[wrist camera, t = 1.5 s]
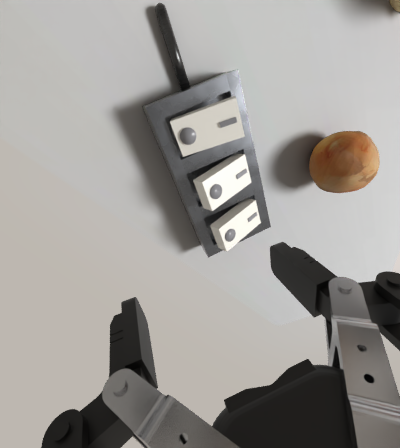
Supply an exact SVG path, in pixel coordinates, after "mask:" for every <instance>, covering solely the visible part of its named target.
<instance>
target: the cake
mask: <svg viewBox="0 0 400 448" xmlns="http://www.w3.org/2000/svg"><path fill="white" fill-rule="evenodd" d="M389 2H390V4H391V6H392V7H393V8H394V10H395V11H397V12H400V0H389Z"/></svg>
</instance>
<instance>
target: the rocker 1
mask: <svg viewBox="0 0 400 448" xmlns="http://www.w3.org/2000/svg"><path fill="white" fill-rule="evenodd" d="M170 124H171V126H172V129H173V132H174V134H175V137H176V140H177V142H178V145H179V148H180V150H181V153H182V155H183V157H184V156H187V155H190V154H193V153H196V152H199V151H202V150H205V149H209V148H212V147H215V146H218V145H221V144H224V143H227V142H230V141H233V140H236V139H239V138H242V137H245V135H244V130H243V126H242V121H241V117H240V112H239V108H238V103H237V99H236V97H235V96H232V97H229V98H227V99H224V100H221V101H218V102H216V103H213V104H210V105H207V106H205V107H202V108H199V109H197V110H194V111H191V112H188V113H186V114H183V115H180V116H177V117H175V118H172V119H171V121H170Z"/></svg>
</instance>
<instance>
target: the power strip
mask: <svg viewBox="0 0 400 448" xmlns="http://www.w3.org/2000/svg"><path fill="white" fill-rule="evenodd" d="M155 12H156V15H157V18H158V21H159V24H160V27H161V30H162V33H163V36H164V39H165V42H166V45H167V48H168V51H169V54H170V57H171V60H172V63H173V66H174V69H175V72H176V75H177V79H178V82H179V85H180V88H181V91H179V92H176V93H174V94H171V95H169V96H167V97H164V98H162V99H159V100H157V101H154V102H152V103H149V104H147V105H145V106H142V107H143V110H144V112H145V114H146V117H147V119H148V121H149V124H150V126H151V128H152V131H153V133H154V136H155V138H156V140H157V143H158V145H159V147H160V150H161V152H162V154H163V157H164V159H165V161H166V164H167V166H168V169H169V171H170V173H171V176H172V178H173V180H174V183H175V185H176V187H177V190H178V192H179V194H180V197H181V199H182V202H183V204H184V206H185V209H186V211H187V213H188V216H189V218H190V220H191V223H192V225H193V227H194V230H195V232H196V235H197V237H198V239H199V242H200V244H201V246H202V248H203V249H204V251H205V253H206V254H207V256H208V257H210V256H212V255H214V254H216V253H218V252H220V251H222V249H220V248H218V245H217V243H216V240H215V237H214V235H213V232H212V229H211V227H210V225H211V224H212V223H214V222H215V221H216V220H218V219H219V218H220V217H222V216H223V215H224V214H225V213H227V212H228V211H229V210H231V209H232V208H233V207H235V206H236V205H237V204H239V203H240V202H241V201H242V200H244V199H247V198H249V199H253V200H256V204H257V208H258V212H259V217H260V221H261V223H260V224H259V225H258V226H256V227H255V228H254V229H253V230H252V231H251V232H249V233H248V234H247V235H246V236H245V237H244V238H242V239H241V240H240V241H239V242H241V241H243V240H245V239H247V238H249V237H251V236H253V235H255V234H257V233H259V232H261V231H263V230H265V229H267V228H269V227H271V226H270V221H269V216H268V211H267V207H266V202H265V197H264V192H263V187H262V183H261V178H260V173H259V168H258V163H257V158H256V154H255V149H254V144H253V139H252V134H251V129H250V125H249V120H248V115H247V110H246V105H245V100H244V96H243V91H242V86H241V81H240V76H239V71H238V69H237V70H233V71H229V72H225V73H223V74H220V75H218V76H215V77H213V78H210V79H208V80H206V81H203V82H201V83H198V84H196V85H193V86H191V87H190V85H189V81H188V78H187V75H186V72H185V69H184V65H183V62H182V59H181V56H180V52H179V49H178V46H177V43H176V40H175V36H174V33H173V30H172V27H171V24H170V20H169V17H168V14H167V11H166V8H165V6H164V5H163V4H162V3H158V4H157V5H156V7H155ZM232 96H235V97H236V99H237V103H238V108H239V112H240V117H241V121H242V126H243V130H244V135H245V137H242V138H239V139H236V140H233V141H230V142H227V143H224V144H221V145H218V146H215V147H212V148H209V149H205V150H202V151H199V152H196V153H193V154H190V155H187V156H184V157H183V155H182V153H181V150H180V148H179V145H178V142H177V140H176V137H175V134H174V132H173V129H172V126H171V124H170V121H171V119H172V118H175V117H177V116H180V115H183V114H186V113H188V112H191V111H194V110H197V109H199V108H202V107H205V106H207V105H210V104H213V103H216V102H218V101H221V100H224V99H227V98H229V97H232ZM233 154H245V156H246V161H247V165H248V169H249V174H250V178H251V183H250V184H249V185H247V186H246V187H245V188H243V189H242V190H241V191H239V192H238V193H236V194H235V195H234V196H232V197H231V198H230V199H228V200H227V201H226V202H224V203H223V204H222V205H220V206H219V207H217V208H216V209H215V210H213V211H210V210H208V209H205V208H203V206H202V203H201V200H200V198H199V195H198V192H197V190H196V187H195V184H194V182H193V180H194V179H196V178H197V177H199V176H201V175H202V174H204V173H205V172H207V171H208V170H210V169H212V168H213V167H215V166H216V165H218V164H219V163H221V162H222V161H224V160H226V159H227V158H229V157H230V156H232V155H233ZM239 242H238V243H239Z"/></svg>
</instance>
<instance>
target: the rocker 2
mask: <svg viewBox="0 0 400 448" xmlns="http://www.w3.org/2000/svg"><path fill="white" fill-rule="evenodd" d="M260 223H261V221H260V217H259V212H258V208H257V204H256V200H253V199H249V198H247V199H244V200H242V201H241V202H240V203H239V204H237V205H236V206H235V207H233V208H232V209H231V210H229V211H228V212H227V213H225V214H224V215H223V216H222V217H220V218H219V219H218V220H216V221H215V222H214V223H212V224H211V225H210V227H211V229H212V232H213V235H214V237H215V240H216V243H217V245H218V248H220V249H222V250H224V251H226V252H227V251H228V250H230V249H231V248H232V247H233V246H234V245H235V244H237V243H238V242H239V241H240V240H241V239H242V238H244V237H245V236H246V235H247V234H248V233H249V232H251V231H252V230H253V229H254V228H255V227H256V226H258V225H259V224H260Z"/></svg>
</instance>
